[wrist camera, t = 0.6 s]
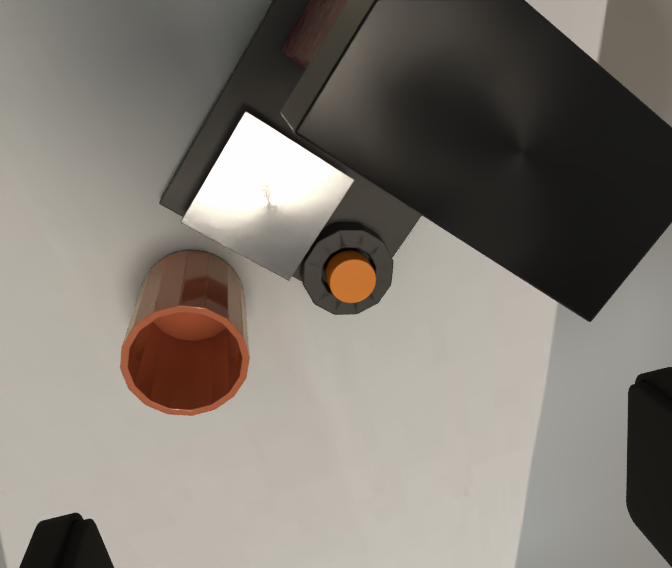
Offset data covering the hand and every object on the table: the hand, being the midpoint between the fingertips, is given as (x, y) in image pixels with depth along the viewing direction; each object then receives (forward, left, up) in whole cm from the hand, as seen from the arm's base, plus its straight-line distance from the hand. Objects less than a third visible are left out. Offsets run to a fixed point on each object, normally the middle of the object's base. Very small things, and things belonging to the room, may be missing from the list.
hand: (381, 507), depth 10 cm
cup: (+1, -11, -31) cm, 33 cm away
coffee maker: (+3, +2, -28) cm, 28 cm away
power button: (+8, -3, -29) cm, 30 cm away
